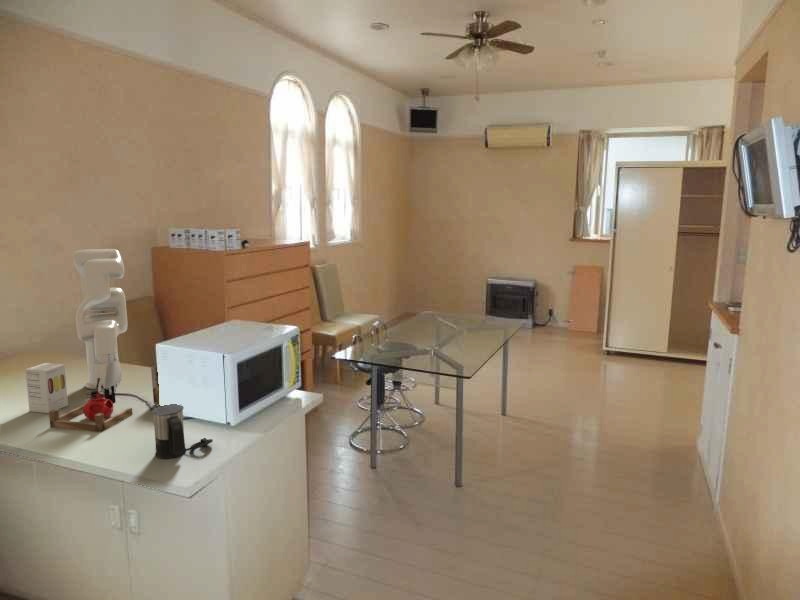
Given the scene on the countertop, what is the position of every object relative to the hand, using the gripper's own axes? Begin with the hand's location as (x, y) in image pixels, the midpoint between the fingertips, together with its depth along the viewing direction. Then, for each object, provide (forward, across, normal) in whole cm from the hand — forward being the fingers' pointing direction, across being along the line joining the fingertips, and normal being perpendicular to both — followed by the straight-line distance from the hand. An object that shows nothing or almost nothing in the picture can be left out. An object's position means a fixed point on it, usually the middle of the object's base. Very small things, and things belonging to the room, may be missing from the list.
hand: (110, 403), depth 208 cm
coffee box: (+3, -11, +17) cm, 20 cm away
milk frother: (+3, +26, +46) cm, 53 cm away
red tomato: (+3, +7, 0) cm, 7 cm away
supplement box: (+3, +2, -25) cm, 25 cm away
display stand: (+3, +10, 0) cm, 10 cm away
